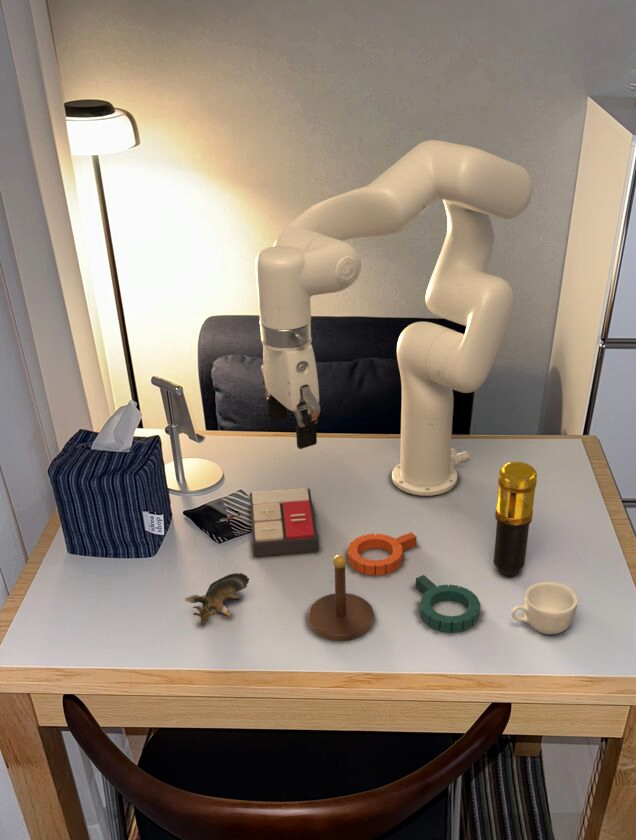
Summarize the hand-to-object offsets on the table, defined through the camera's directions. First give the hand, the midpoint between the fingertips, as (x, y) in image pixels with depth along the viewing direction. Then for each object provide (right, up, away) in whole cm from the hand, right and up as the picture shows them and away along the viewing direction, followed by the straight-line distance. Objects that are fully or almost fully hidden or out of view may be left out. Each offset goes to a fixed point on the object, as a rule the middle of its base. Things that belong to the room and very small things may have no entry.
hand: (292, 432), depth 143 cm
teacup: (+39, -30, -4) cm, 49 cm away
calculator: (-3, -16, +18) cm, 25 cm away
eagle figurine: (-11, -28, -1) cm, 30 cm away
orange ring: (+15, -20, +11) cm, 28 cm away
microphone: (+39, -22, +8) cm, 45 cm away
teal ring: (+24, -28, 0) cm, 36 cm away
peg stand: (+8, -29, -3) cm, 30 cm away
